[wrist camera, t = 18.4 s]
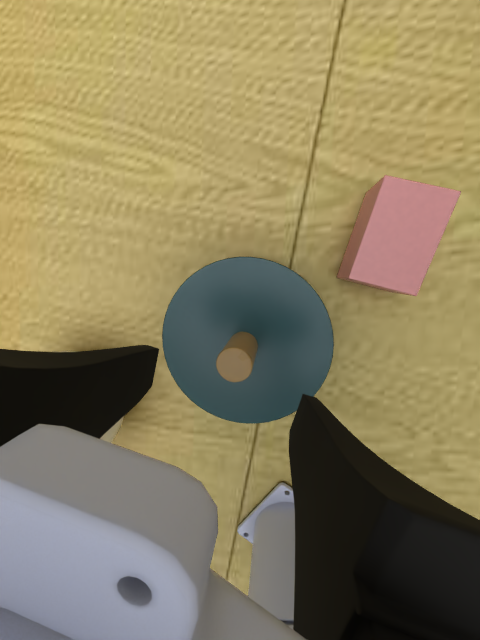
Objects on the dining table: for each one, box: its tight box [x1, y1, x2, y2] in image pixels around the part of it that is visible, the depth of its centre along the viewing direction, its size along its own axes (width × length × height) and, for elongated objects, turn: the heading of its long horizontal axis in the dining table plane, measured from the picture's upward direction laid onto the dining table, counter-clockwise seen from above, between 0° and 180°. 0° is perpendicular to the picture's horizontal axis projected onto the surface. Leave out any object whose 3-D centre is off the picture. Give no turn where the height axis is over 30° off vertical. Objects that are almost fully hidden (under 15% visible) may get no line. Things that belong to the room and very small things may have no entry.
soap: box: [337, 175, 461, 296], centre depth 17 cm, size 4×6×3 cm
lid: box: [162, 257, 334, 423], centre depth 17 cm, size 13×13×5 cm
